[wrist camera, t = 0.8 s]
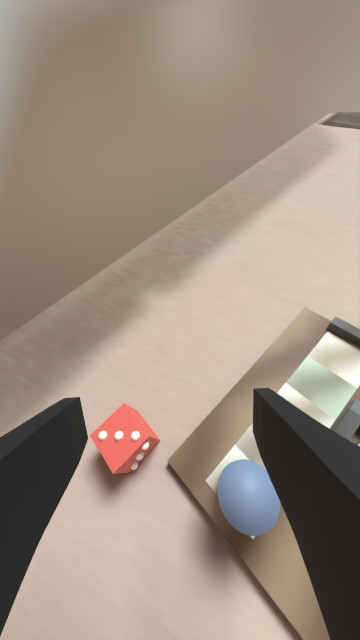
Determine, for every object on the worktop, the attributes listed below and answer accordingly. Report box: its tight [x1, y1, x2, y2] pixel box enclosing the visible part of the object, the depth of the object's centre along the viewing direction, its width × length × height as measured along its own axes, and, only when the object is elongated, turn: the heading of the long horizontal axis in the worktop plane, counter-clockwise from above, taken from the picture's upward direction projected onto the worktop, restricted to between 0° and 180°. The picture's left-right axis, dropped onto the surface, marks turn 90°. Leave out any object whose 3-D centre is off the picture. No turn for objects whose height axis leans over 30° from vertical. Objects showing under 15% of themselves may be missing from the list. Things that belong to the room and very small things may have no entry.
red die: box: [90, 403, 160, 474], centre depth 22 cm, size 4×4×4 cm
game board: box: [168, 307, 360, 640], centre depth 20 cm, size 17×23×3 cm
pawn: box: [217, 459, 280, 536], centre depth 17 cm, size 4×4×5 cm
